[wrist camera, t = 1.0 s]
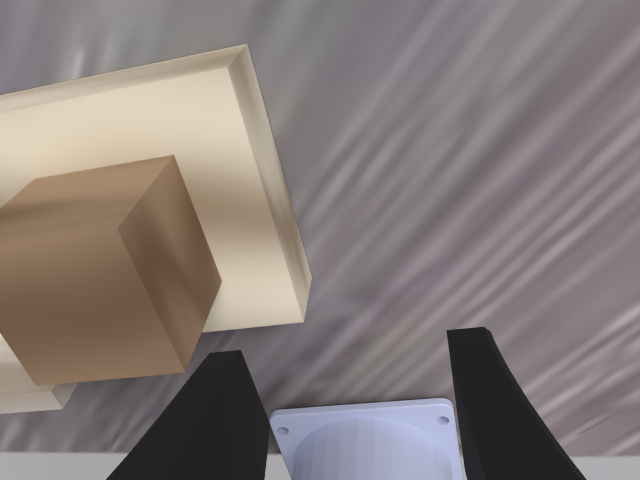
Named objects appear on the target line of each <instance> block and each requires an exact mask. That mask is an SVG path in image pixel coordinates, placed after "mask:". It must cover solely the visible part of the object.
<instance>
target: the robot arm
mask: <svg viewBox="0 0 640 480" xmlns="http://www.w3.org/2000/svg"><path fill="white" fill-rule="evenodd" d="M447 337H448V345H449V352H450V360H451V368H452V376H453V384H454V392H455V400H456V407H457V415H458V422H459V430H460V437H461V444H462V452H463V459H464V466H465V471H466V476H467V480H586V478H585V477H584V476H583V474H582V473H581V472H580V471H579V469H578V468H577V467H576V466H575V464H574V463H573V462H572V461H571V459H570V458H569V457H568V455H567V454H566V453H565V451H564V450H563V449H562V447H561V446H560V445H559V443H558V442H557V440H556V439H555V438H554V436H553V435H552V434H551V432H550V431H549V429H548V428H547V426H546V425H545V423H544V422H543V421H542V419H541V418H540V416H539V415H538V413H537V412H536V411H535V409H534V408H533V406H532V405H531V403H530V402H529V400H528V399H527V397H526V396H525V394H524V393H523V391H522V389H521V388H520V386H519V385H518V383H517V381H516V380H515V378H514V376H513V375H512V373H511V371H510V370H509V368H508V366H507V364H506V363H505V361H504V359H503V357H502V355H501V353H500V351H499V349H498V347H497V345H496V343H495V341H494V339H493V336H492V334H491V332H490V331H489V330H487V329H486V328H485V327H477V328H467V329H456V330H447ZM269 422H270V423H269ZM270 426H271V428H272V431H273V433H274V436H275V438H276V441H277V443H278V446H279V449H280V451H281V454H282V456H283V459H284V461H285V464H286V466H287V469H288V471H289V474H290V477H291V479H292V480H463V479H462V471H461V463H460V455H459V448H458V440H457V433H456V425H455V418H454V410H453V404H452V402H451V401H449V400H448V399H445V398H432V399H418V400H404V401H391V402H377V403H363V404H349V405H335V406H322V407H308V408H294V409H280V410H275V411H273V412H272V413H271V415H270V420H269V421H268V418H267V416H266V413H265V410H264V408H263V405H262V403H261V400H260V398H259V395H258V393H257V390H256V387H255V385H254V382H253V380H252V377H251V375H250V372H249V370H248V367H247V365H246V362H245V359H244V357H243V354H242V352H241V350H236V351H226V352H216V353H210V354H209V355H208V356H207V357H206V358H205V360H204V361H203V362H202V363H201V365H200V366H199V367H198V368H197V370H196V371H195V372H194V373H193V375H192V376H191V377H190V378H189V380H188V381H187V382H186V384H185V385H184V386H183V387H182V389H181V390H180V391H179V392H178V394H177V395H176V396H175V397H174V399H173V400H172V401H171V403H170V404H169V405H168V406H167V408H166V409H165V410H164V411H163V413H162V414H161V415H160V416H159V418H158V419H157V420H156V421H155V423H154V424H153V425H152V426H151V427H150V429H149V430H148V431H147V432H146V434H145V435H144V436H143V437H142V438H141V440H140V441H139V442H138V443H137V445H136V446H135V447H134V448H133V449H132V451H131V452H130V453H129V454H128V455H127V456H126V458H125V459H124V460H123V461H122V462H121V463H120V464H119V465H118V467H117V468H116V469H115V470H114V471H113V472H112V473H111V474H110V476H109V477H108V478H107V479H106V480H264V477H265V469H266V459H267V451H268V440H269V429H270ZM284 427H285V428H284Z"/></svg>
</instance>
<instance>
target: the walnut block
mask: <svg viewBox="0 0 640 480" xmlns="http://www.w3.org/2000/svg"><path fill="white" fill-rule="evenodd" d="M221 283H222V279H221V277H220V274H219V272H218V269H217V266H216V264H215V261H214V258H213V256H212V253H211V251H210V248H209V245H208V243H207V240H206V238H205V235H204V232H203V230H202V227H201V224H200V222H199V219H198V217H197V214H196V211H195V209H194V206H193V204H192V201H191V198H190V196H189V193H188V190H187V188H186V185H185V183H184V180H183V177H182V175H181V172H180V169H179V167H178V164H177V162H176V159H175V156H174V155H170V156H164V157H158V158H152V159H146V160H141V161H135V162H129V163H123V164H117V165H112V166H106V167H100V168H94V169H88V170H83V171H77V172H71V173H65V174H59V175H53V176H48V177H42V178H36V179H34V180H33V181H31V182H30V183H29V184H28V185H27V186H26V187H24V188H23V189H22V190H21V191H20V192H19V193H17V194H16V195H15V196H14V197H13V198H12V199H10V200H9V201H8V202H7V203H6V204H5V205H3V206H2V207H1V208H0V334H1V335H2V337H3V338H4V339H5V341H6V342H7V344H8V345H9V347H10V348H11V350H12V351H13V353H14V354H15V356H16V357H17V358H18V360H19V361H20V363H21V364H22V366H23V367H24V369H25V370H26V372H27V373H28V375H29V376H30V378H31V379H32V380H33V382H34V383H35V385H36V386H42V385H53V384H65V383H76V382H87V381H98V380H110V379H121V378H132V377H143V376H155V375H166V374H177V373H186V370H187V368H188V365H189V363H190V360H191V358H192V355H193V353H194V350H195V348H196V345H197V343H198V340H199V338H200V335H201V333H202V330H203V328H204V325H205V323H206V320H207V318H208V315H209V313H210V310H211V308H212V305H213V303H214V300H215V298H216V295H217V293H218V290H219V288H220V286H221Z"/></svg>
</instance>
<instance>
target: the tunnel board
mask: <svg viewBox="0 0 640 480" xmlns="http://www.w3.org/2000/svg"><path fill="white" fill-rule="evenodd" d="M170 155H174V156H175V159H176V162H177V164H178V167H179V169H180V172H181V175H182V177H183V180H184V183H185V185H186V188H187V190H188V193H189V196H190V198H191V201H192V204H193V206H194V209H195V211H196V214H197V217H198V219H199V222H200V224H201V227H202V230H203V232H204V235H205V238H206V240H207V243H208V245H209V248H210V251H211V253H212V256H213V258H214V261H215V264H216V266H217V269H218V272H219V274H220V277H221V279H222V283H221V286H220V288H219V290H218V293H217V295H216V298H215V300H214V303H213V305H212V308H211V310H210V313H209V315H208V318H207V320H206V323H205V325H204V328H203V330H202V333H204V332H213V331H223V330H233V329H242V328H252V327H262V326H271V325H281V324H291V323H300V322H304V318H305V313H306V307H307V302H308V296H309V290H310V285H311V279H312V276H311V273H310V269H309V266H308V262H307V258H306V255H305V251H304V247H303V244H302V240H301V237H300V233H299V229H298V226H297V222H296V218H295V215H294V211H293V208H292V204H291V200H290V197H289V193H288V190H287V186H286V182H285V179H284V175H283V171H282V168H281V164H280V161H279V157H278V153H277V150H276V146H275V143H274V139H273V135H272V132H271V128H270V124H269V121H268V117H267V114H266V110H265V106H264V103H263V99H262V95H261V92H260V88H259V85H258V81H257V77H256V74H255V70H254V67H253V63H252V59H251V56H250V52H249V48H248V45H247V44H244V45H239V46H234V47H229V48H224V49H220V50H215V51H210V52H205V53H200V54H196V55H191V56H186V57H181V58H176V59H172V60H167V61H162V62H157V63H152V64H148V65H143V66H138V67H133V68H128V69H124V70H119V71H114V72H109V73H104V74H100V75H95V76H90V77H85V78H80V79H76V80H71V81H66V82H61V83H56V84H52V85H47V86H42V87H37V88H32V89H28V90H23V91H18V92H13V93H8V94H4V95H0V208H1V207H2V206H3V205H5V204H6V203H7V202H8V201H9V200H10V199H12V198H13V197H14V196H15V195H16V194H17V193H19V192H20V191H21V190H22V189H23V188H24V187H26V186H27V185H28V184H29V183H30V182H31V181H33V180H34V179H36V178H42V177H48V176H53V175H59V174H65V173H71V172H77V171H83V170H88V169H94V168H100V167H106V166H112V165H117V164H123V163H129V162H135V161H141V160H146V159H152V158H158V157H164V156H170ZM78 383H79V382H76V383H65V384H53V385H42V386H36V385H35V383H34V382H33V380H32V379H31V378H30V376H29V375H28V373H27V372H26V370H25V369H24V367H23V366H22V364H21V363H20V361H19V360H18V358H17V357H16V356H15V354H14V353H13V351H12V350H11V348H10V347H9V345H8V344H7V342H6V341H5V339H4V338H3V337H2V335H1V334H0V414H5V413H18V412H31V411H43V410H56V409H63V408H64V406H65V405H66V403H67V401H68V400H69V398H70V397H71V395H72V393H73V392H74V390H75V388H76V387H77V385H78Z"/></svg>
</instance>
